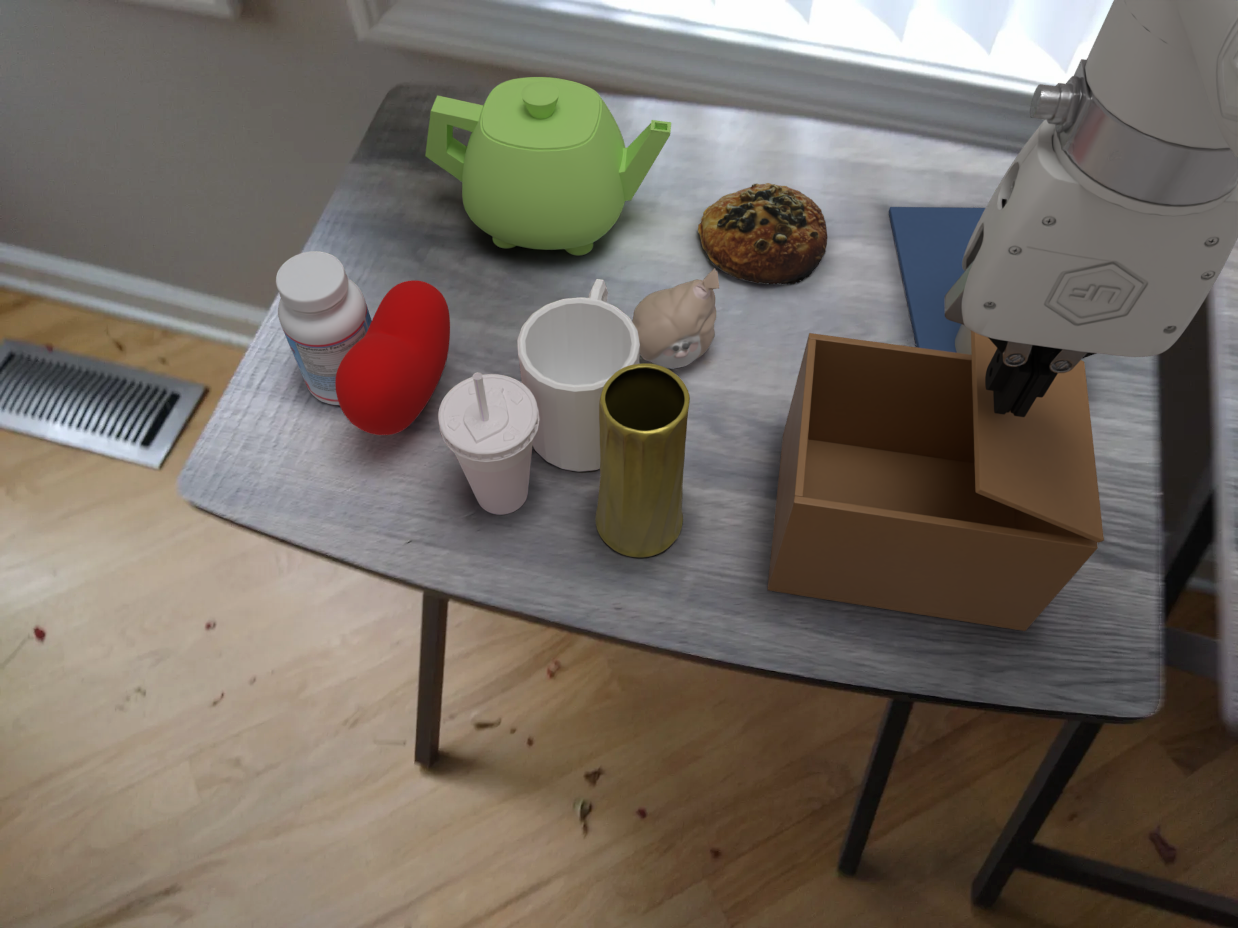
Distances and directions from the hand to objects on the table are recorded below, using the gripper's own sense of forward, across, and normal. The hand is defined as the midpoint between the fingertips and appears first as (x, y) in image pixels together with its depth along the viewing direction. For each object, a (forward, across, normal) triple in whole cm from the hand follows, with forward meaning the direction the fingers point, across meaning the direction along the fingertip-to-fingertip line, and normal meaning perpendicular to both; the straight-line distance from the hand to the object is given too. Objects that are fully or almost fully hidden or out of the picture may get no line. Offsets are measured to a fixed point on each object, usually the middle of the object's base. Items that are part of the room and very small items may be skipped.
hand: (1007, 394), depth 56 cm
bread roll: (+16, -14, +26) cm, 34 cm away
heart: (+16, -39, +3) cm, 42 cm away
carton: (+16, -2, 0) cm, 16 cm away
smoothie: (+16, -30, -2) cm, 34 cm away
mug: (+16, -26, +6) cm, 31 cm away
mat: (+16, +4, +23) cm, 28 cm away
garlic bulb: (+16, -20, +13) cm, 29 cm away
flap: (+2, +2, 0) cm, 3 cm away
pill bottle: (+16, -44, +6) cm, 48 cm away
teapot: (+16, -33, +26) cm, 45 cm away
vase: (+16, -20, -3) cm, 26 cm away
